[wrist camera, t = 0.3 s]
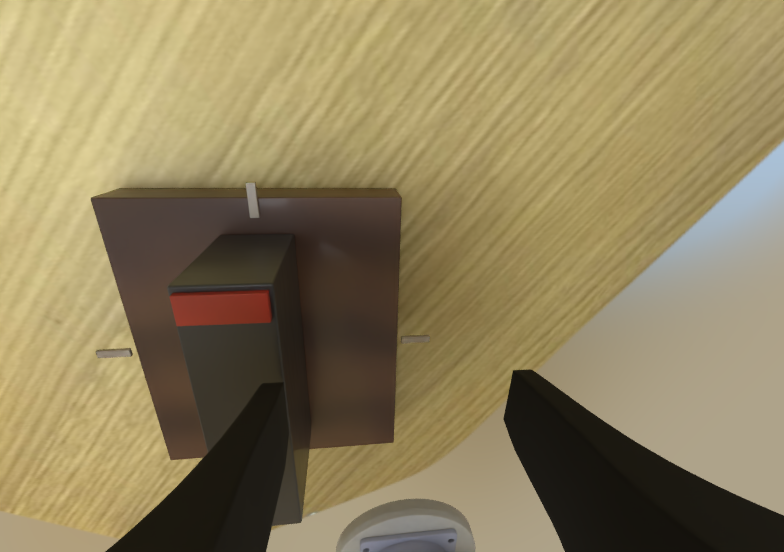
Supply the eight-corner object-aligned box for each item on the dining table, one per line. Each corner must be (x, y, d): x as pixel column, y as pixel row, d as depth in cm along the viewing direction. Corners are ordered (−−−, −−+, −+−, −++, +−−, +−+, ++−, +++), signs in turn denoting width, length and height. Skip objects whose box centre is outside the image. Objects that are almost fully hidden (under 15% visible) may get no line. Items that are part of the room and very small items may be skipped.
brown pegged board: (414, 422, 23) (421, 450, 21) (158, 440, 22) (139, 473, 20) (430, 175, 17) (441, 183, 15) (73, 173, 15) (33, 182, 13)
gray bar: (311, 429, 20) (300, 529, 15) (253, 434, 19) (224, 537, 15) (294, 233, 15) (271, 287, 11) (219, 234, 15) (161, 290, 10)
